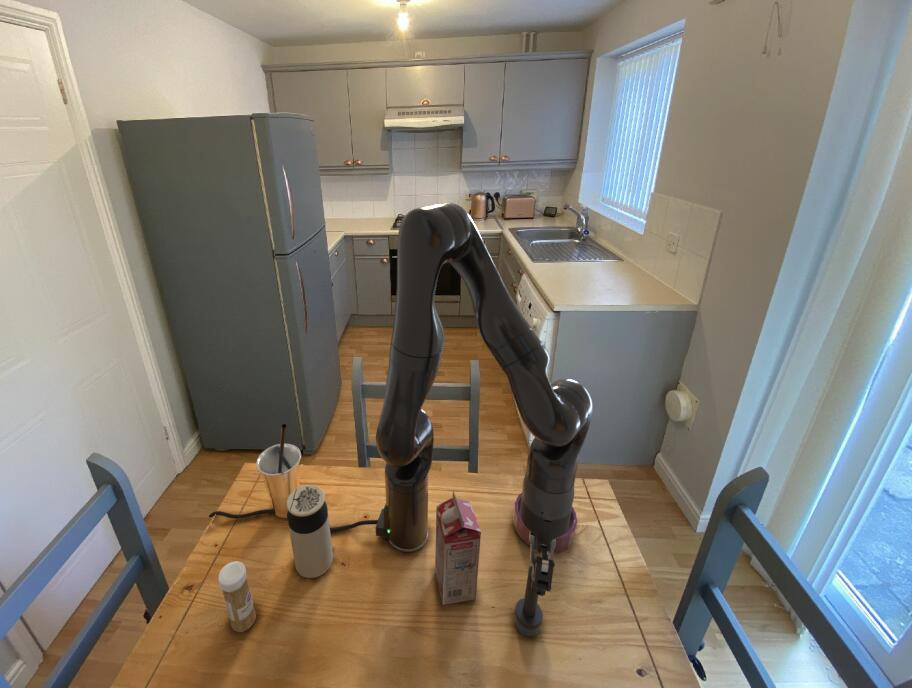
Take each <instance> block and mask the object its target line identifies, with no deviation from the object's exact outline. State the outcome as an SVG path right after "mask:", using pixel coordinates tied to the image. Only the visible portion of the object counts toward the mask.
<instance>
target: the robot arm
mask: <svg viewBox="0 0 912 688" xmlns="http://www.w3.org/2000/svg"><path fill="white" fill-rule="evenodd" d="M396 255H397V256H396V295H395V305H394V306H395V307H394V317H393V326H392V331H391V338H390V347H389V355H388V367H387V368H388V369H387V373H386V374H387V375H386V382H385V389H384V390H385V392H384V399H383V404H382V408H381V412H380V416H379V420H378V423H377V427H376V432H375V444H376V445H375V446H376V448H377V452H378V454H379V455H380V457H381V459H382V460H383V461H384V462H385V466H384V483H385V484H384V487H385V488H384V490H385V504H384V507H383V508H381V510H380V514H379V516H378V518H377V519H365V520H359V521H356V522H353V523H351V524H345V525H341V526H334V527H330V533H334V532H335V533H336V532H341V531H347V530H351V529H354V528H357V527H360V526H365V525H375V536H376V537H379V538H384V542H387V543H389V545H390V546H391V547H392V548H393V549H395V550H396V551H398V552H401V553H413V552H417V551H419V550H420V549H422V548H424V547H425V544H426V543H427V541H428V538H429V473H430V470H431V468H432V464H433V456H434V441H435V433H434V427H433V423H432V421H431V418H430V417H429V415H428V414H427V412H426V411H425V410H423V409H422V407H423V405H424V404H425V401H426V399H427V397H428V395H429V393H430V391H431V389H432V387H433V385H434V383H435V380H436V378H437V377H438V373H439V370H440V367H441V361H442V356H443V351H444V345H445V331H444V327H443V324H442V321H441V318H440V316H439V313H438V311H437V307H436V304H435V303H436V301H435V299H436V298H435V297H436V290H437V284H438V280H439V279H438V278H439V276H440V275H439V274H440V271H441V268H442V267H443V265H445V264H448V263H449V264H450V265H451V267H453V268H454V270H455V271H456V272H457V274H458V275H459V276H460V278H461V279H462V281H463V283H464V285H465V286H466V289H467V291H468V294H469V297H470V300H471V304H472V309H473V314H474V318H475V323H476V327H477V329H478V333H479V335H480V337H481V339H482V342H483V344H484V345H485V347H486V349H487V350H488V351H489V353H490V355H491V356H492V357H493V359H494V361H495V362H496V364H497V366H498V367H499V368H500V369H501V371H502V372H503V374H504V376H505V377H506V379H507V383H508V386H509V388H510V392H511V395H512V397H513V399H514V402H515V405H516V407H517V411H518V413H519V416H520V417H521V420H522V422H523V424H524V426H525V427H526V429H527V430H528V431H529V433H530V434H531V435H532V436H533V437H534V438H533V439H532V441H531V442H530V446H529V448H528V453H527V460H526V468H525V472H524V473H525V474H524V477H523V481H522V490H521V493H522V497H521V506H520V517H521V520H522V522H523V524H524V525H525V527H526V528H527V529H528V530H529V531H530V534H529V545H530V546H529V545H528V546H529V547H530V549H529V550H530V551H529V560H530V563H531V565H533V572H532V582H531V592H532V593H533V594H535V595H538V596H540V597H544V596H545V595H546V593H547V592H548V593H551V590H552V582H553V577H554V576H553V575H554V569H555V565H556V564H555V560H554V548H555V546H556V538H558V537H561V536H562V535H564V534H565V533H566V531H567V530H568V527H569V522H570V516H571V510H572V507H573V503H574V499H575V482H576V476H577V471H578V464H579V462H578V461H579V457H580V455H581V451H582V448H583V446H584V444H585V441H586V438H587V436H588V432H589V429H590V426H591V424H592V423H591V422H592V420H593V413H594V404H593V400H592V397H591V395H590V393H589V391H588V390H587V389H586V387H585V386H584V385H583V384H581V383H580V382H579V381H576V380H574V379H570V378H562V379H557V380H555V381H552V382H550V380H549V377H548V370H549V369H548V368H549V367H550V364H551V360H552V359H551V355H550V353H549V351H548V349H547V347H546V346H545V345H544V343H543V341H541V339H540V337H539V336H538V334H537V333H536V331H534V329H533V328H532V326H531V325H530V323H529V322H528V320H527V319H526V317H525V316H524V315H523V313H522V312H521V310H520V309H519V306H517V304H516V302H515V301H514V299H513V297H512V296H511V294H510V292H509V290H508V288H507V286H506V284H505V283H504V281H503V279H502V276H501V275H500V273H499V271H498V268H497V267H496V265H495V263H494V261H493V259H492V257H491V255H490V253H489V251H488V249H487V246H486V244H485V243H484V240H483V238H482V236H481V234H480V232H479V230H478V228H477V226H476V224H475V223H474V221H473V219H472V217H471V215H470V214H469V213H468V211H466V210H465V208H463V207H462V206H461V205H459V204H457V203H453V202H440V203H437V204H430V205H424V206H420V207H415V208H413V209H411V210H410V211H408V212H407V213H406V214H405V216H403V218H402V220H401V222H400V225H399V228H398V233H397V247H396ZM215 514H216V515H215ZM265 514H273V515H275V514H276V513H275V511H274V510H273V508H272V509H270V508H269V509H268V508H267V509H266V508H265V509H261V510H260V509H259V510H255V511H252V512H247V513H241V514H240V513H239V514H235V513H230V512H226V511H221V510H215V511H212V512H211V513H210V514H209V515H208V518H214V517H215V516H221V517H225V518H230V519H235V520H236V519H237V520H239V519H245V518H250V517H255V516H258V515H265ZM535 553H537V554H540V556H535Z"/></svg>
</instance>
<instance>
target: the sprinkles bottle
mask: <svg viewBox="0 0 912 688" xmlns="http://www.w3.org/2000/svg"><path fill="white" fill-rule="evenodd" d="M247 575H248V573H247V568H246V566H245V564H244V563H243V562H241V561H238V560H235V561H231V562H228V563H227V564H225V565H224V566H223V567H222V568H221V570H220V571H219V573H218V576H217V577H218V578H217V579H218V584H219V587H220V589H221V591H222V595H223V601H224V603H225V607H226V610H227V614H228V617H229V619H230V625H231V628H232V630H233V631H235V632H236V633H243V632H245V631H248V630H249V629H250V628H251V627H252V626H253V624H254V623H255V621H256V618H257V613H256V610H255V607H254V600H253V597H252V593H251V590H250V586H249V581H248V577H247Z"/></svg>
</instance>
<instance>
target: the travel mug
mask: <svg viewBox="0 0 912 688" xmlns="http://www.w3.org/2000/svg"><path fill="white" fill-rule="evenodd" d="M325 499H326V495H325V492H324V489H322V487H320V486H317V485H314V484H305V485H304V484H303V485H302V486H300V487H299V488H297V489H295V490H294V491H293V492H292V493H291V494H290V495H289V497H288V499H287V503H286V505H287V509H288V512H287V517H286V518H287V525H288V530H289V537H290V542H291V549H292V553H293V554H292V555H293V560H294V561H293V562H294V566H295V570H296V571H297V573H298V574H299V575H300V577H303V578H305V579H315V578H318V577H321V576H322V575H324V574H325V573H326V572H327V571H328V570H329V569H330V567H331V565H332V564H333V560H334V554H333V543H332V536H331V532H330V528H331V527H330V517H329V510H328V504H327V502H326V500H325Z"/></svg>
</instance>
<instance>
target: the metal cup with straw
mask: <svg viewBox="0 0 912 688" xmlns="http://www.w3.org/2000/svg"><path fill="white" fill-rule="evenodd" d="M286 432H287V424H286V423H283V424H281V431H280V442H279V443H278V444H274V445H272V446H269V447H268V448H266V449H264V450H263V451H262V452H261V453H260V454H259V456H258V457H257V460H256V468H257V470H258V472H260V474H261V477H262V480H263V484H264V486H265V488H266V492H267V495H268V497H269V501H270V503H271V507H272V509H273V510H274V511H275V513H276V514H274V515H275V516H277V517H278V518H283V519H284V518H285V519H286V518H287V512H288V509H287V505H286V503H287V499H288V497H289V495H290V494H291V493H292V492H293V491H294V490H295V489H297V488H299V487H301V486H300V485H301V470H300V469H301V467H300V466H301V465H300V462H301V459H302V453H301V450H300V449H299V447H298V446H296V445H294V444H291V443H286V442H285V441H286V434H287V433H286Z"/></svg>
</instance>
